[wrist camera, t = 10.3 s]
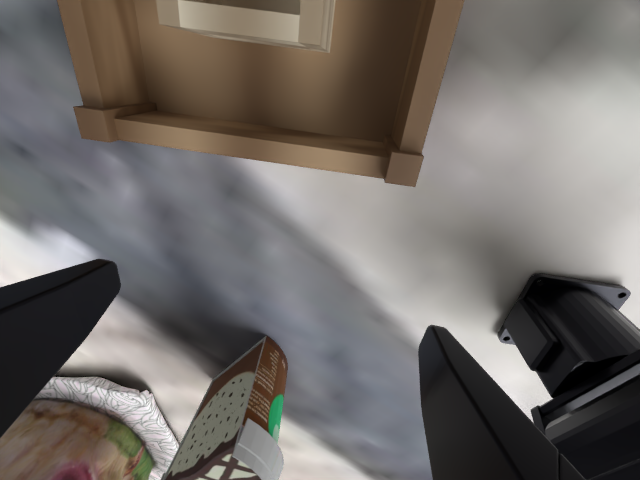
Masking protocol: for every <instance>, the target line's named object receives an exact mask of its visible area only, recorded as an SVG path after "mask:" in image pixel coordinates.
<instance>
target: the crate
mask: <svg viewBox="0 0 640 480" xmlns="http://www.w3.org/2000/svg"><path fill="white" fill-rule="evenodd" d="M57 2H58V6H59V10H60V14H61V18H62V22H63V26H64V30H65V34H66V38H67V42H68V45H69V49H70V53H71V57H72V61H73V65H74V69H75V73H76V77H77V81H78V85H79V89H80V93H81V97H82V101H83V106H75V107H73V108H74V111H75V115H76V119H77V123H78V126H79V130H80V134H81V138H83V139H90V140H97V141H103V142H113V141H117V140H122V141H129V142H136V143H142V144H149V145H156V146H163V147H170V148H177V149H184V150H191V151H197V152H204V153H211V154H218V155H225V156H232V157H239V158H246V159H252V160H259V161H266V162H273V163H280V164H287V165H294V166H300V167H307V168H314V169H321V170H328V171H335V172H342V173H349V174H355V175H362V176H369V177H376V178H383V179H384V181H385V183H391V184H398V185H405V186H412V187H415V186H416V182H417V179H418V175H419V172H420V168H421V165H422V161H423V158H424V156H423V155H422V154H421V153H422V149H423V145H424V142H425V138H426V135H427V131H428V128H429V124H430V121H431V117H432V113H433V110H434V106H435V103H436V99H437V96H438V92H439V89H440V85H441V81H442V78H443V74H444V71H445V67H446V64H447V60H448V57H449V53H450V49H451V46H452V42H453V39H454V35H455V32H456V28H457V25H458V21H459V17H460V14H461V10H462V7H463V3H464V0H336V2H335V11H334V20H333V29H332V38H331V47H330V53H326V52H318V51H311V50H303V49H295V48H288V47H280V46H272V45H265V44H257V43H250V42H242V41H234V40H227V39H219V38H213V37H209V36H205V35H201V34H197V33H193V32H189V31H184V30H180V29H176V28H172V27H168V26H164V25H160V24H159V19H158V11H157V2H156V0H57Z"/></svg>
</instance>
